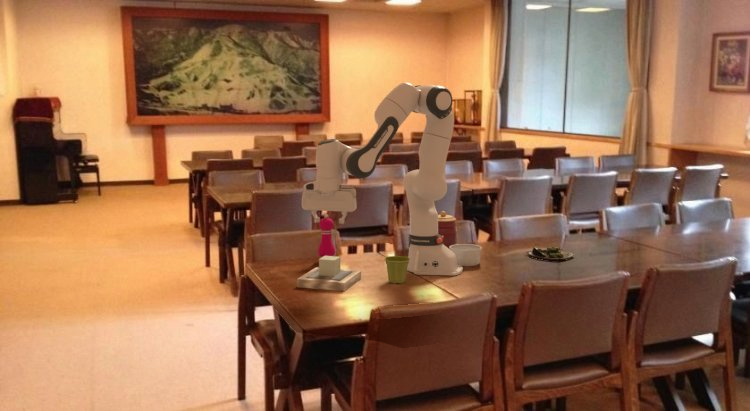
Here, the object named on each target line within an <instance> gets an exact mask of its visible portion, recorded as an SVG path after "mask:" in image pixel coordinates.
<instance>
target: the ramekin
mask: <svg viewBox="0 0 750 411" xmlns="http://www.w3.org/2000/svg"><path fill="white" fill-rule="evenodd" d="M449 249H450V250H451V251H452V252H454V253H455V255H456V258H457V265H461V266H462V267H475V266H478V265H479V264H480V261H481V257H482V250H483V248H482V246H480V245H478V244H471V243H457V244H456V245H451V246H450V247H449Z"/></svg>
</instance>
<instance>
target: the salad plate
mask: <svg viewBox="0 0 750 411" xmlns="http://www.w3.org/2000/svg"><path fill="white" fill-rule="evenodd" d="M524 253H526V254H527V255H528V256H529V257H530V256H531V257H533V258H532V259H534V258H537V259H536V260H538V259H543V260H542V261H544V260H548V261H547V262H552V261H559V262H563V261H562V260H564V261H567V260H569V259H571V258H572V257H574V254H573V253H572V252H566V251H564V250H563V248H560V247H558V246H555V247H554V246H549V247H546V249H545V248H537V247H536V246H533V248H532V250H530V251H529V250H528V251H525V252H524ZM561 253H562V254H561ZM563 254H565V255H567V256H568V257H567V258H566V257H565V256H564V255H563ZM531 257H530V258H531ZM566 259H567V260H566Z"/></svg>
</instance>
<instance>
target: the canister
mask: <svg viewBox="0 0 750 411" xmlns="http://www.w3.org/2000/svg"><path fill="white" fill-rule="evenodd" d="M439 213H440V214H438V234H439V235H441V236H443V243H442V244H443V245H445V246H446V247H447V248H448V249H449V247H450V246H451V245H456V244H458V230H457V227H458V225H459V224H458V223H457V222H456V221H457V218H456V217H454V216H453V215H450V214H447V212H446V211H444V210H441V211H440V212H439Z"/></svg>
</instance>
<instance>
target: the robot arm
mask: <svg viewBox="0 0 750 411" xmlns="http://www.w3.org/2000/svg"><path fill="white" fill-rule="evenodd" d="M452 110H453V95H452V92H451V91H450V90H449V89H448V88H446V87H444V86H441V85H433V84H426V85H424V84H423V85H414V84H411V83H410V82H405V81H404V82H401V83H399V84H398V85H397V86H395V87H394V88H393V89H392V90H391V91H389V93H388V94H387V95H386V96H385V97H384V98H383V99H382V100H381V102H380V103H379V104H378V105H377V107H376V109H375V111H374V120H375V123H376V125H377V128H376V130H375V132H374V133H373V134H372V136H371V137H370V138H369V140H368V141H367V143H366V144H365V145H364V146H363V147H361V148H354V147H351V146H348V145H347V144H344V143H342V142H341V141H339V139H336V138H330V139H325V140H321V141H320V142H318V143H317V146H316V149H315V151H316V152H315V167H316V170H317V171H316V175H315V180H312V181H310V182H307V183H305V184H303V190H304V191H303V192H302V194H301V195H302V196H301V208H302V210H304V211H311V212H310V213H311V215H312V216H313V219H314V220H313V221H314V223H315V224H316V223H317V224H319V222H320V220H321V217H320V216H318V214H317V212H318V211H322V212H323V211H324V212H325V211H326V212H341V215H342V216H341V217H340V218H338V224H341V225H344V224H345V218H346V216H347V215H348V213H352V212H355V211H356V210H357V208H358V205H357V190H356V188H355V187H354V186H352V185H345V184H343V185H342V174H345V175H349V176H352V177H355V178H358V179H366V178H368V177H370V176H371V175H372V174H373V173H374V172H375V169H376V167H377V165H378V161H379V159H380V157H381V156H382V154H383V152H384V151H385V150H386V148H387V147H388V146H389V144H390V143H391V141H392V140H393V139H394V137H395V135H396V134H397V132H398V130H399V128H400V127H401V126H402V124H404V122H405V121H406V120H407V118H408V117H409V116H410V114H411V113H412V112H413V113H415V114H421V115H425V119H426V120H425V126H424V129H423V132H422V133H423V134H422V137H421V141H420V145H419V149H418V157H419V166H418V168H419V169H414V170H411V171H408V172H407V173H406V174H405V175H404V177H403V180H402V185H403V188H404V190H405V194H406V200H407V204H408V211H409V234H408V240H407V241H408V243H407V244H408V256H407V257H408V258H410V261H409V264H408V267H407V272H411V273H413V274H415V275H419V276H421V275H422V276H423V275H424V276H458V275H460V274H462V273H463V270H464V266H461V265H457V258H456V255H455V253H454V252H452V251H451V250H450V249H448V248H447V247H446V246H445V245H443V244H442V243H443V236H441V235H439V234H438V215H439V214H438V211H437V209H436V204H435V202H436V201H440V200H441V199H443V198H444V197H445V196H446V194H447V192H448V184H447V180H446V165H447V158H448V153H449V151H450V150H449V149H450V146H451V141H452V137H453V133H454V126H455V116H454V113H453V112H452Z"/></svg>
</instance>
